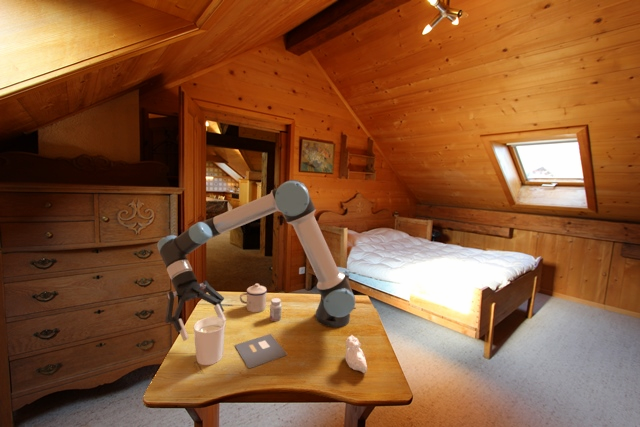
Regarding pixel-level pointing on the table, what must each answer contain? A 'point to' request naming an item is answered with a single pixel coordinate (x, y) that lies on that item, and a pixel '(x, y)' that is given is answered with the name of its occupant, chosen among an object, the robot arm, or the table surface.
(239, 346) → the gray tile
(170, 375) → the table surface
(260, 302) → the teacup with lid
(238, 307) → the table surface
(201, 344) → the candle holder
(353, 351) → the bust
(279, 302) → the pill bottle
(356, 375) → the table surface
